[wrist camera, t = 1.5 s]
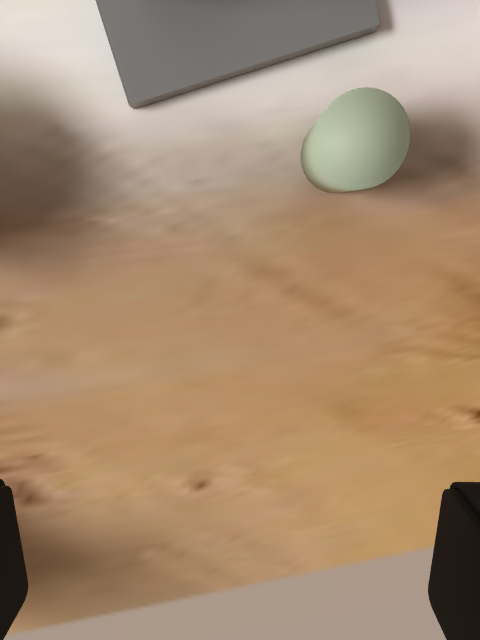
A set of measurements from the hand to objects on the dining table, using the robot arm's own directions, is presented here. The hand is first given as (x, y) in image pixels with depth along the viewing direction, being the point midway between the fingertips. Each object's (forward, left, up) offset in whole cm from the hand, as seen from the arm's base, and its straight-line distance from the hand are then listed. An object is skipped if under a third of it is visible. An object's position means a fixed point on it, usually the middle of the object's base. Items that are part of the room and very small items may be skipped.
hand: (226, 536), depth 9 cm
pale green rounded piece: (-9, -8, -21) cm, 24 cm away
